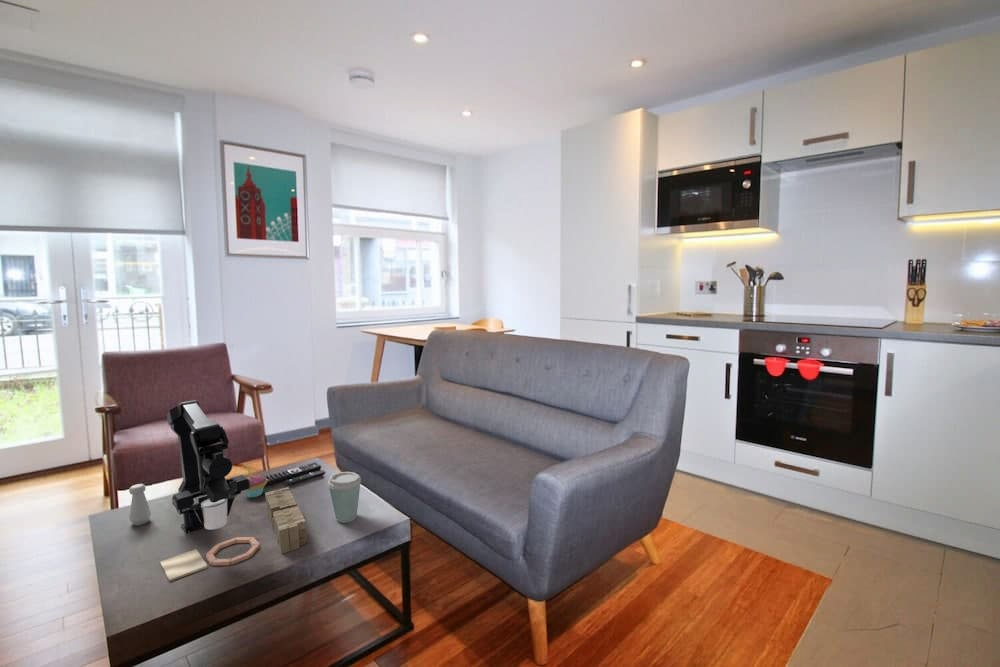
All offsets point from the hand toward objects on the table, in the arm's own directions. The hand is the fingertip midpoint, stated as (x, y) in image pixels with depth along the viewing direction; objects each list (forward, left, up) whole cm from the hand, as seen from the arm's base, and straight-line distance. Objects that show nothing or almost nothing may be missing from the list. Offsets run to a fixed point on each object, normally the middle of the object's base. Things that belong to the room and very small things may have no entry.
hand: (215, 519), depth 141 cm
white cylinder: (0, 0, -2) cm, 2 cm away
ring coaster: (+1, +4, -11) cm, 12 cm away
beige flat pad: (-2, -8, -11) cm, 14 cm away
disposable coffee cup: (+7, +37, -12) cm, 39 cm away
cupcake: (-35, +22, -12) cm, 43 cm away
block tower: (-1, +20, -12) cm, 23 cm away
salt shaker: (-41, -12, -12) cm, 44 cm away
